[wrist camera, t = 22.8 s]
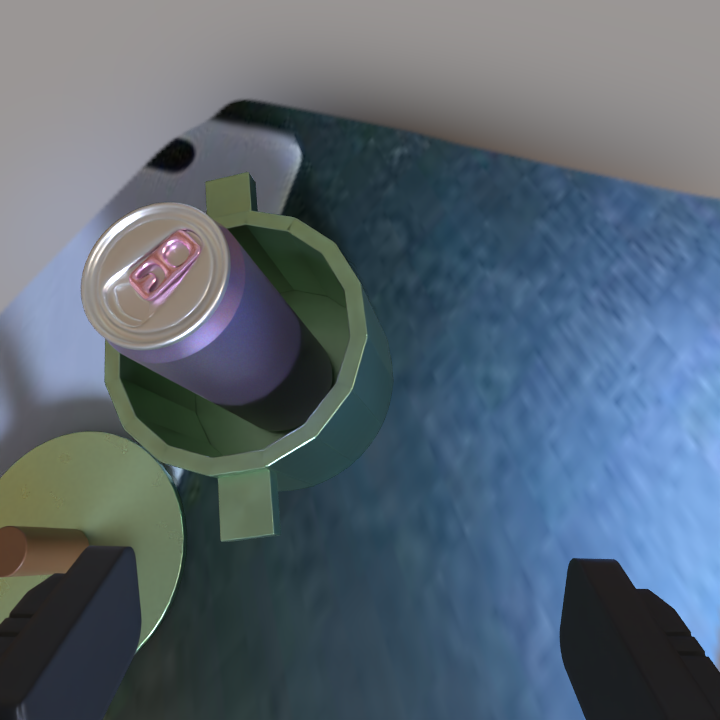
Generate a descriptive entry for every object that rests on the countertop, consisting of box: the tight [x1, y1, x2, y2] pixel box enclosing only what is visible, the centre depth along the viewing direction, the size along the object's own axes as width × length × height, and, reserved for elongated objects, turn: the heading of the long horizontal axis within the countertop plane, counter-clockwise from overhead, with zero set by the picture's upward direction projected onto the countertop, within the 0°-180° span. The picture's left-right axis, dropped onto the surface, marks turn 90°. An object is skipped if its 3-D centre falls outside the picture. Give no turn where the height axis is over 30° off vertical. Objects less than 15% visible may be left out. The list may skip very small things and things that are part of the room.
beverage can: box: [81, 202, 332, 431], centre depth 28 cm, size 6×6×15 cm
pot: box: [104, 172, 393, 542], centre depth 32 cm, size 13×18×8 cm
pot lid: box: [0, 431, 187, 654], centre depth 32 cm, size 14×14×6 cm
